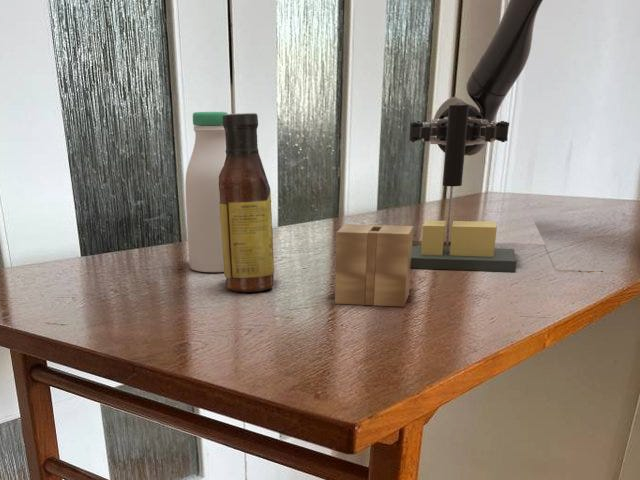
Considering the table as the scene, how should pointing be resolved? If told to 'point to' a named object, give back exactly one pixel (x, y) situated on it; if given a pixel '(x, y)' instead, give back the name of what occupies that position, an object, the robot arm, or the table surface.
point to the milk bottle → (205, 193)
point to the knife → (454, 152)
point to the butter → (462, 248)
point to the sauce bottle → (245, 209)
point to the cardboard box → (373, 265)
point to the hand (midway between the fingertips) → (457, 133)
